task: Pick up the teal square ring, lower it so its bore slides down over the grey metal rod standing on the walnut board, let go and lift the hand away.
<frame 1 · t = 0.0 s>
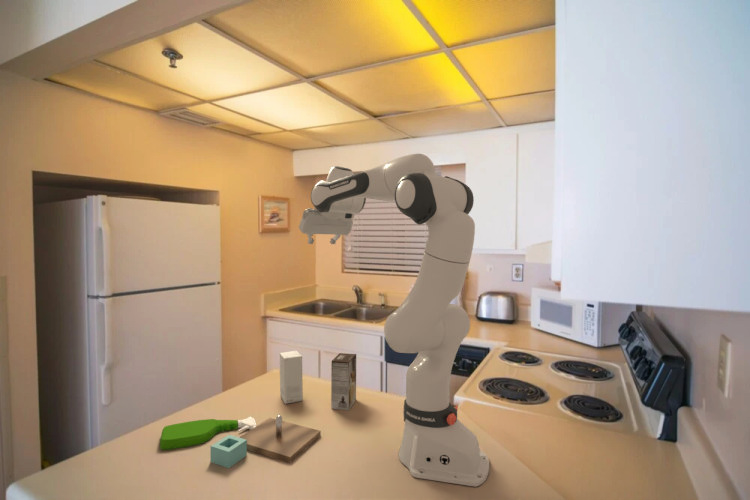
hand: (321, 243, 138), 54 cm above the worktop, tool tilted 30°, fingers open, 8 cm apart
metal rod: (278, 440, 101), resting on walnut board
spray bottle: (210, 435, 105), on the worktop
coffee box: (343, 404, 125), on the worktop
teal square ring: (228, 458, 93), on the worktop
skincare box: (290, 398, 129), on the worktop
walnut board: (278, 440, 101), on the worktop
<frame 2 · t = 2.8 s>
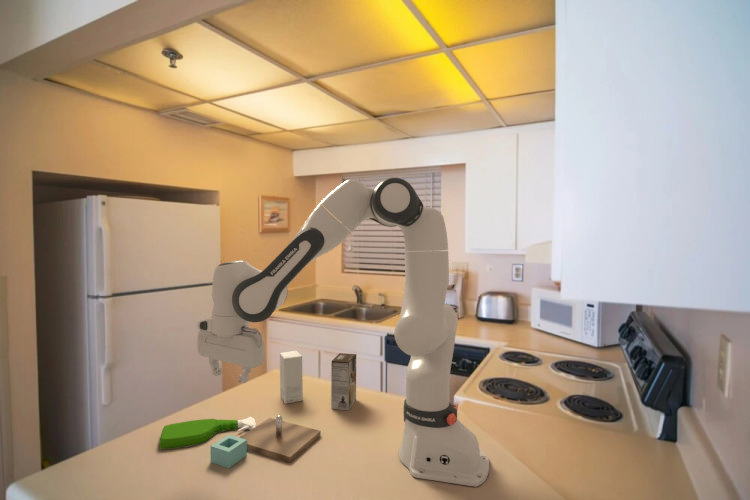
hand: (229, 378, 93), 20 cm above the worktop, tool pointing down, fingers open, 8 cm apart
nothing on the worktop moved.
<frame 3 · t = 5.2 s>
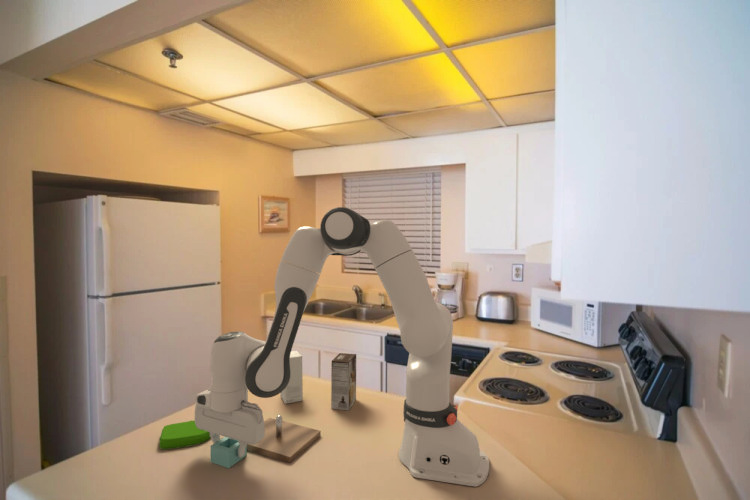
hand: (229, 452, 93), 2 cm above the worktop, tool pointing down, fingers closed on teal square ring, 6 cm apart
teal square ring: (228, 458, 93), on the worktop, touching gripper
everything else where it was.
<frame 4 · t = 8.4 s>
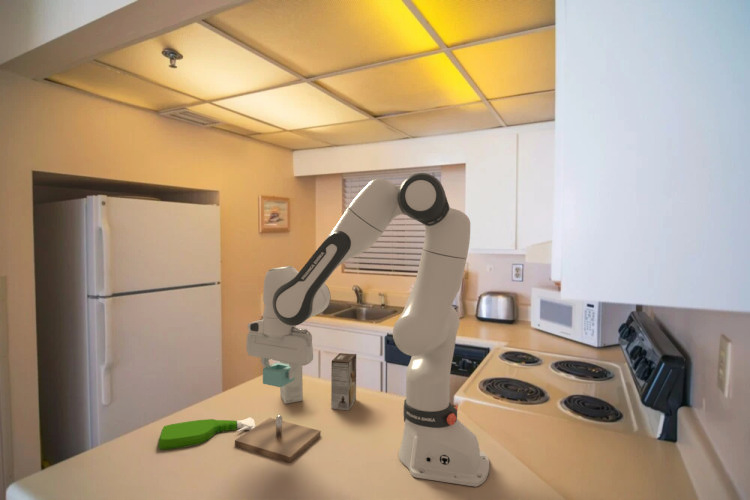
hand: (278, 375, 101), 18 cm above the worktop, tool pointing down, fingers closed on teal square ring, 6 cm apart
teal square ring: (278, 381, 101), point 16 cm above the worktop, touching gripper
everything else where it was.
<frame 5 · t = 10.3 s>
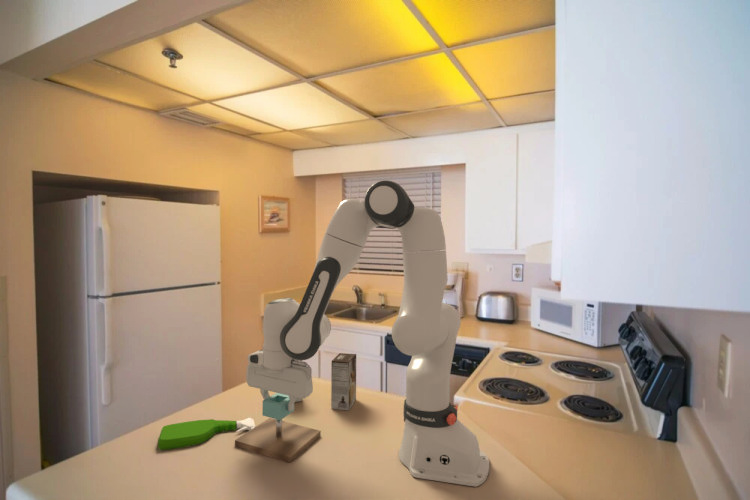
hand: (278, 407, 101), 9 cm above the worktop, tool pointing down, fingers closed on teal square ring, 6 cm apart
teal square ring: (278, 413, 101), point 8 cm above the worktop, touching gripper
everything else where it was.
when the fingers open (4 cm above the worktop, at t = 11.9 s): teal square ring stays where it is, resting on walnut board.
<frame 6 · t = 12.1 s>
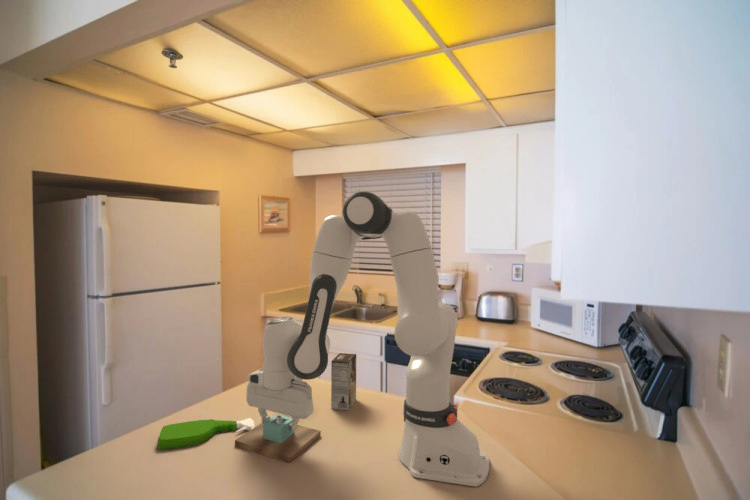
hand: (279, 426, 101), 4 cm above the worktop, tool pointing down, fingers open, 8 cm apart
teal square ring: (279, 435, 101), point 1 cm above the worktop, touching walnut board
everything else where it was.
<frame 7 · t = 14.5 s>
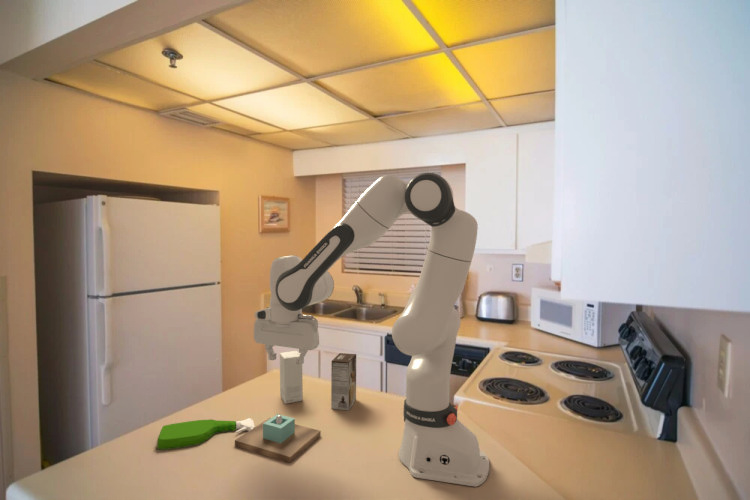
hand: (285, 361, 104), 21 cm above the worktop, tool pointing down, fingers open, 8 cm apart
nothing on the worktop moved.
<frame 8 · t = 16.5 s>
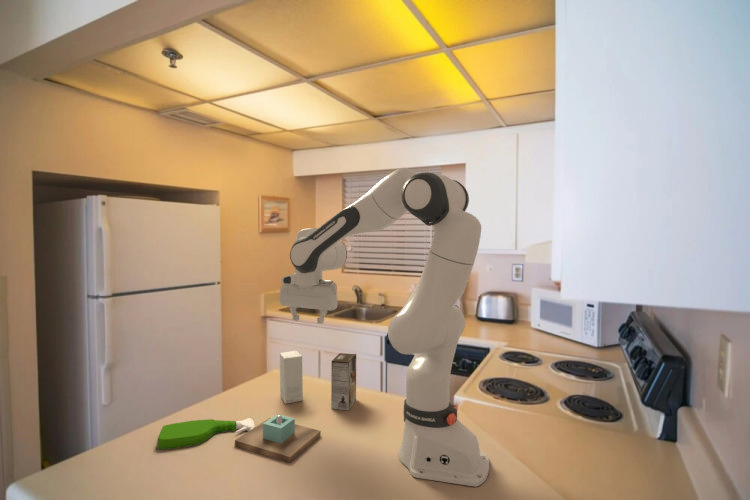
hand: (308, 321, 118), 29 cm above the worktop, tool pointing down, fingers open, 8 cm apart
nothing on the worktop moved.
at the end: teal square ring 0.0 cm off-centre on the metal rod, point 1.5 cm above the metal rod's base; the gripper is holding nothing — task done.
